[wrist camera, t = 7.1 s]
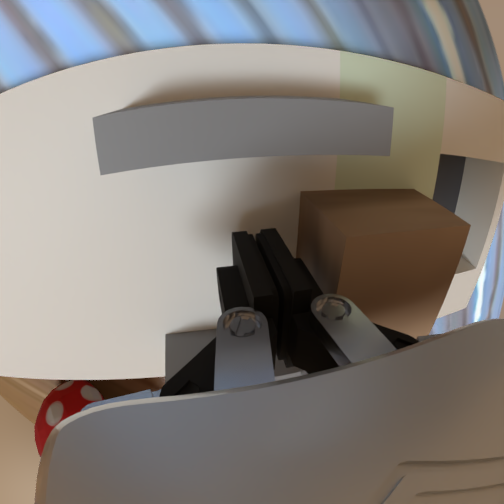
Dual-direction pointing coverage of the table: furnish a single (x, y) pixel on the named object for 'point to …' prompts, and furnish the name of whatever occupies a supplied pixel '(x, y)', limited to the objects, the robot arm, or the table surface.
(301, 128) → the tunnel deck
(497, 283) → the table surface
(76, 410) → the decorative mushroom
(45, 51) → the table surface
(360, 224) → the walnut block
